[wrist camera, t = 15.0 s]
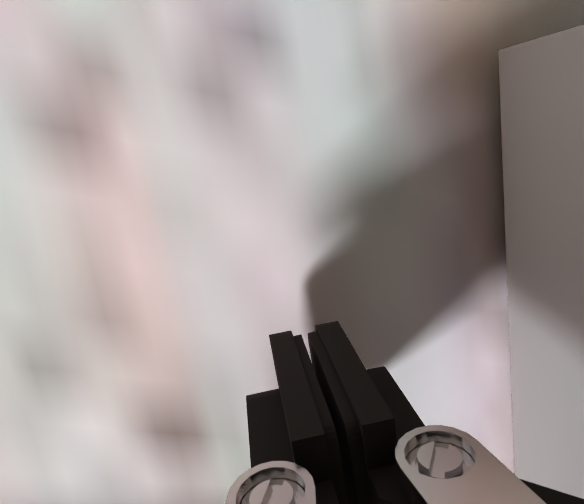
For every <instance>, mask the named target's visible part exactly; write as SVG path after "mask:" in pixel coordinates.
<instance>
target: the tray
mask: <svg viewBox="0 0 584 504" xmlns="http://www.w3.org/2000/svg"><path fill="white" fill-rule="evenodd" d="M498 52H499V79H500V105H501V132H502V158H503V185H504V211H505V238H506V264H507V291H508V317H509V344H510V370H511V397H512V423H513V450H514V474H515V475H516V476H517V477H518V478H519V479H522V480H525V481H528V482H532V483H535V484H538V485H541V486H544V487H547V488H551V489H554V490H557V491H560V492H563V493H566V494H569V495H573V496H576V497H579V498H582V499H584V24H583V25H580V26H576V27H573V28H570V29H566V30H563V31H560V32H556V33H553V34H550V35H547V36H543V37H540V38H537V39H533V40H530V41H527V42H523V43H520V44H517V45H513V46H510V47H507V48H503V49H500V50H498Z"/></svg>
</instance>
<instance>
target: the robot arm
mask: <svg viewBox="0 0 584 504" xmlns="http://www.w3.org/2000/svg"><path fill="white" fill-rule="evenodd" d="M269 338H270V343H271V349H272V354H273V359H274V365H275V370H276V375H277V381H278V386H279V389H275V390H270V391H266V392H261V393H257V394H252V395H247V396H246V402H247V416H248V430H249V444H250V458H251V469H249V470H247V471H246V472H245V473H243V474H242V475H241V476H239V477H238V478H237V480H236V481H235V482H234V484H233V485H232V486H231V488H230V490H229V493H228V495H227V498H226V503H225V504H584V499H582V498H579V497H576V496H573V495H569V494H566V493H563V492H560V491H557V490H554V489H551V488H547V487H544V486H541V485H538V484H535V483H532V482H528V481H525V480H522V479H519V478H518V477H517V476H516V475H515V474H513V473H512V472H511V471H510V470H509V469H508V468H507V467H506V466H505V465H504V464H503V463H501V462H500V461H499V460H498V459H497V458H496V457H495V456H494V455H493V454H492V453H491V452H489V451H488V450H487V449H486V448H485V447H484V446H483V445H482V444H481V443H480V442H479V441H477V440H476V439H475V438H473V437H472V436H471V435H469V434H468V433H466V432H464V431H461V430H459V429H456V428H453V427H448V426H442V425H428V426H425V425H424V424H423V422H422V421H421V419H420V418H419V416H418V415H417V413H416V412H415V410H414V409H413V407H412V406H411V404H410V403H409V401H408V400H407V398H406V397H405V395H404V394H403V392H402V391H401V390H400V388H399V387H398V385H397V384H396V382H395V381H394V379H393V378H392V376H391V375H390V373H389V372H388V370H387V369H386V368H385V367H383V366H382V367H377V368H373V369H368V370H366V369H365V367H364V365H363V364H362V362H361V360H360V358H359V357H358V355H357V353H356V352H355V350H354V348H353V346H352V345H351V343H350V341H349V340H348V338H347V336H346V334H345V333H344V331H343V329H342V328H341V326H340V324H339V322H338V321H335V322H330V323H325V324H321V325H316V326H315V332H311V333H308V341H309V347H310V353H311V359H312V363H311V360H310V358H309V355H308V352H307V349H306V347H305V344H304V341H303V338H302V336H301V335H297V336H293V335H292V332H291V331H286V332H281V333H277V334H272V335H269ZM312 365H313V366H312Z"/></svg>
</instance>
